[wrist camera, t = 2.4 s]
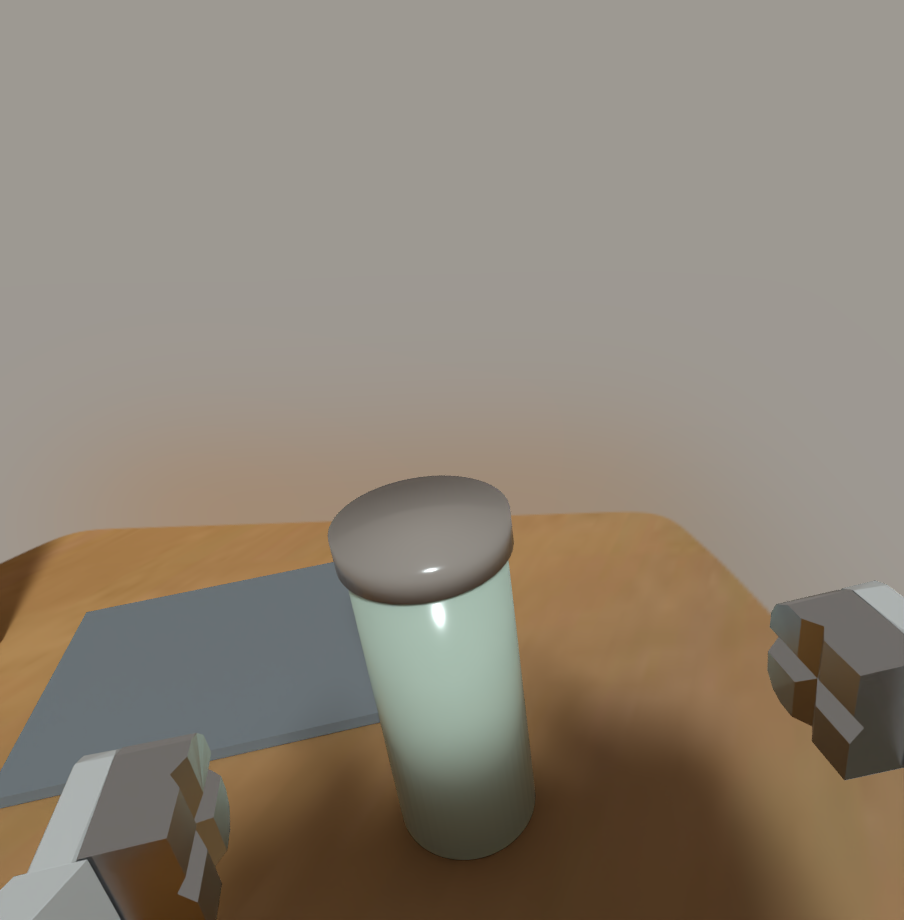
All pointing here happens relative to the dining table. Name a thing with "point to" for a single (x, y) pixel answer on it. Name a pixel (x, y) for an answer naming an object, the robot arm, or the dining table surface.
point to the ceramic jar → (442, 656)
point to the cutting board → (199, 676)
